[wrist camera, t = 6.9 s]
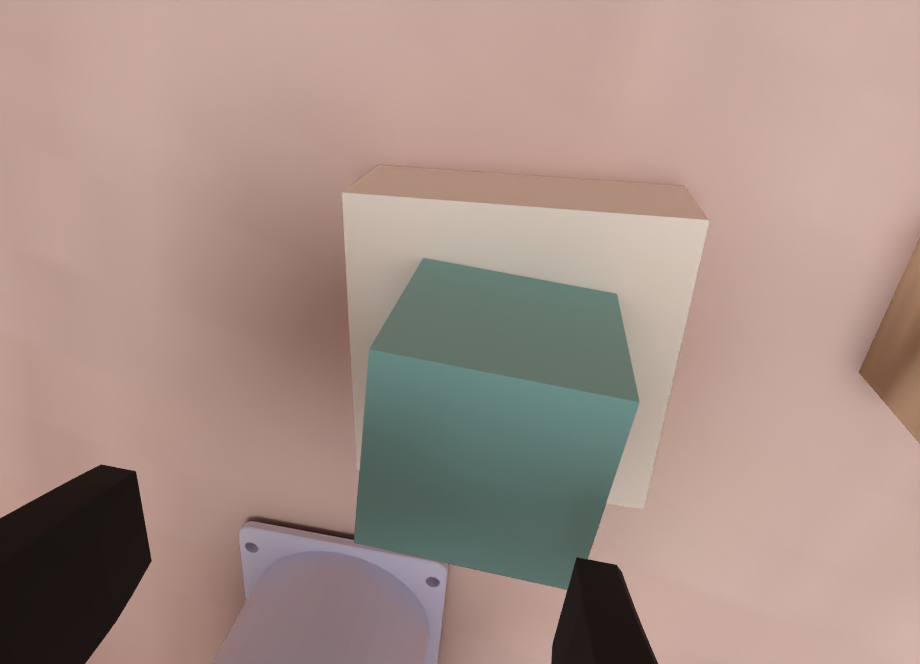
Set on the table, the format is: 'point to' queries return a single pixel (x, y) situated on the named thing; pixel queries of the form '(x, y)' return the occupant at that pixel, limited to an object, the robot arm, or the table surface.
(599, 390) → the teal block
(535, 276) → the base block
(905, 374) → the birch block
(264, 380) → the table surface
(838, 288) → the table surface
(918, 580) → the table surface
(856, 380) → the table surface
